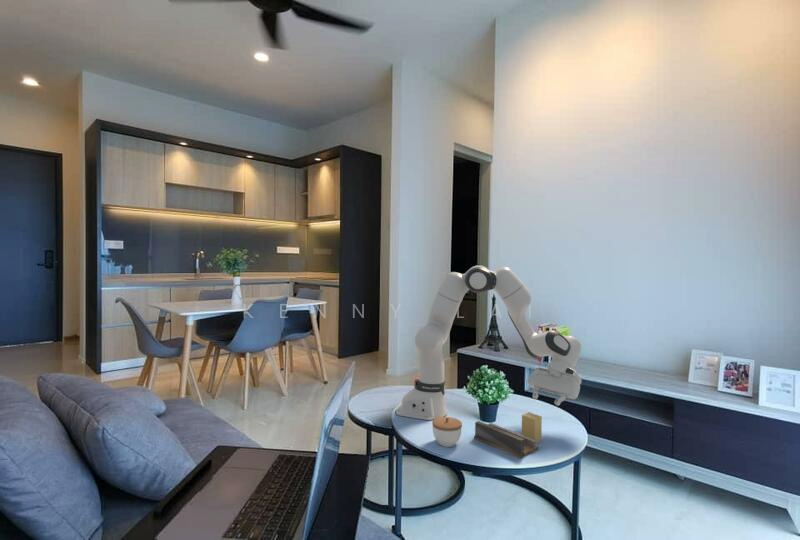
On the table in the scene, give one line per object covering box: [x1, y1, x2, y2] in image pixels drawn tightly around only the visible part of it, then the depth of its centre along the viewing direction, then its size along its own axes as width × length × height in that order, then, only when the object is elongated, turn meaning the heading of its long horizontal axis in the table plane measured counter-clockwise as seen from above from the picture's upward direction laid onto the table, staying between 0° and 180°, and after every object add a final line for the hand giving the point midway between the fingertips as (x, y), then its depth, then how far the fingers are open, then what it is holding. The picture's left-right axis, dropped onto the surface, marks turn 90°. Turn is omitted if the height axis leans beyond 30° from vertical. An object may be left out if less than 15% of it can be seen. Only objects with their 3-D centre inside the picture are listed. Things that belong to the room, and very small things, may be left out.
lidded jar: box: [431, 416, 463, 448], centre depth 148 cm, size 11×11×9 cm
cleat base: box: [473, 420, 539, 459], centre depth 148 cm, size 11×20×6 cm, turn 39°
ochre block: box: [521, 412, 543, 443], centre depth 152 cm, size 4×6×9 cm
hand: (545, 401), depth 158 cm, fingers open, 8 cm apart
